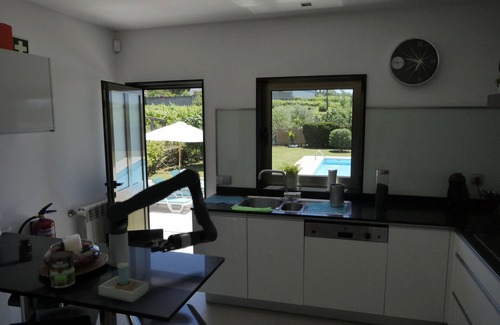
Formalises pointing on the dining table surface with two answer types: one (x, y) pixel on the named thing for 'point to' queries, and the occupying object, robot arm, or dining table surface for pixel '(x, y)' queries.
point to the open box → (123, 289)
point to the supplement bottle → (25, 250)
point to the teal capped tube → (123, 273)
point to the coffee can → (62, 269)
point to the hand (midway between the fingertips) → (147, 247)
